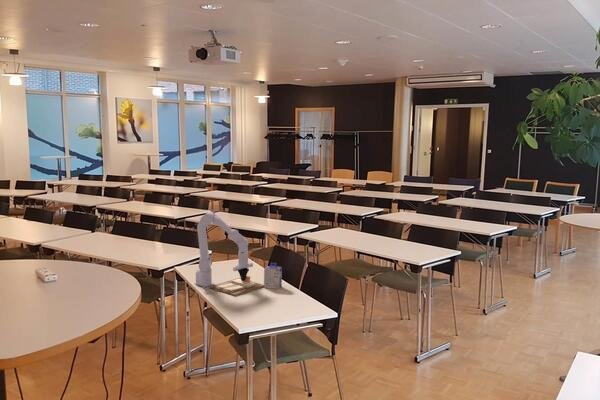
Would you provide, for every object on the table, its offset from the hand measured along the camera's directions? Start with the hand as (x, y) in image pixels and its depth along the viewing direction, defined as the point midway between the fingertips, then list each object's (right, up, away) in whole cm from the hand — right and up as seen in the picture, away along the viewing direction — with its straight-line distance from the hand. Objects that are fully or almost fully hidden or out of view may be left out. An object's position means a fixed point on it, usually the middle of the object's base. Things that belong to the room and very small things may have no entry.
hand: (243, 280), depth 298 cm
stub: (0, -2, 0) cm, 2 cm away
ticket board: (-3, -4, -3) cm, 6 cm away
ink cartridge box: (+18, -4, -1) cm, 18 cm away
